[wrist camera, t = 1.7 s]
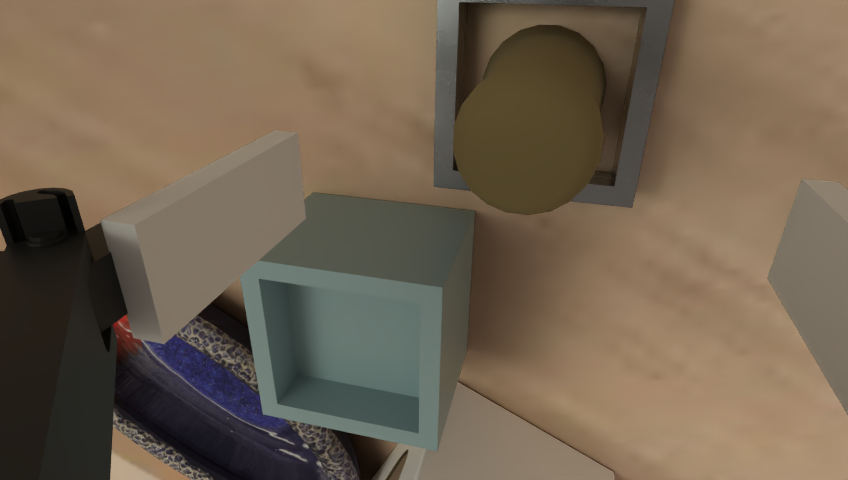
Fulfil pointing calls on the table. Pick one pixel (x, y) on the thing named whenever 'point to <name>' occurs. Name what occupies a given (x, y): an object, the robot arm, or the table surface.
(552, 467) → the gable box
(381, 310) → the open box
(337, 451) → the dish
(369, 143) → the table surface
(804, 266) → the robot arm
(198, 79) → the table surface
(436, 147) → the socket collar
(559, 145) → the olive brown hourglass shape
